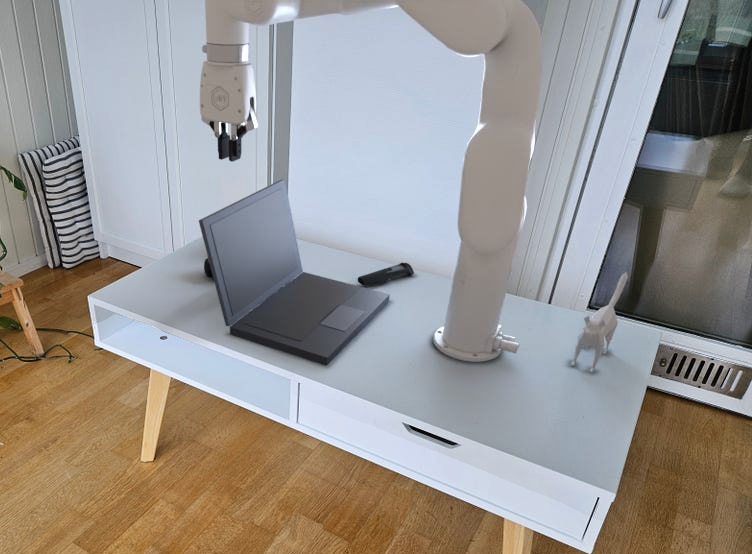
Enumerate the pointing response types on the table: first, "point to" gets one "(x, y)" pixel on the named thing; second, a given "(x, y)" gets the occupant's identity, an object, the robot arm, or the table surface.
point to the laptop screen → (251, 249)
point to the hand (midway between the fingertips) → (229, 158)
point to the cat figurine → (600, 327)
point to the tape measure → (207, 269)
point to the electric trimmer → (386, 274)
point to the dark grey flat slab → (311, 317)
